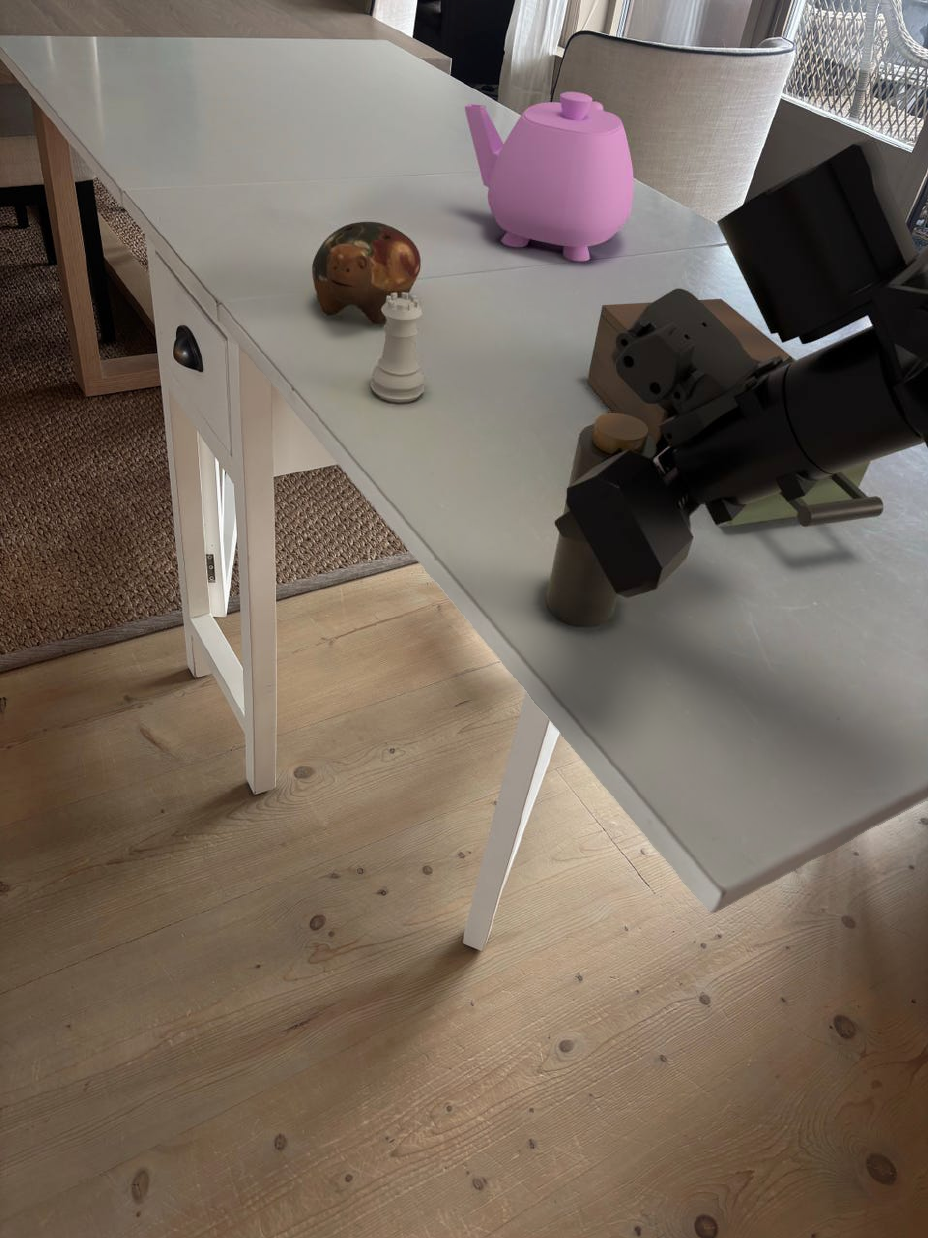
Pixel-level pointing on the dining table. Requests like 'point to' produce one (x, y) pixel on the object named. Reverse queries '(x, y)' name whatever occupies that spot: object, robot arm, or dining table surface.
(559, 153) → the teapot
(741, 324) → the cabinet
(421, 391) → the rook chess piece
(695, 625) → the dining table surface
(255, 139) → the dining table surface
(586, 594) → the pepper mill
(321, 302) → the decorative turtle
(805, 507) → the drawer
